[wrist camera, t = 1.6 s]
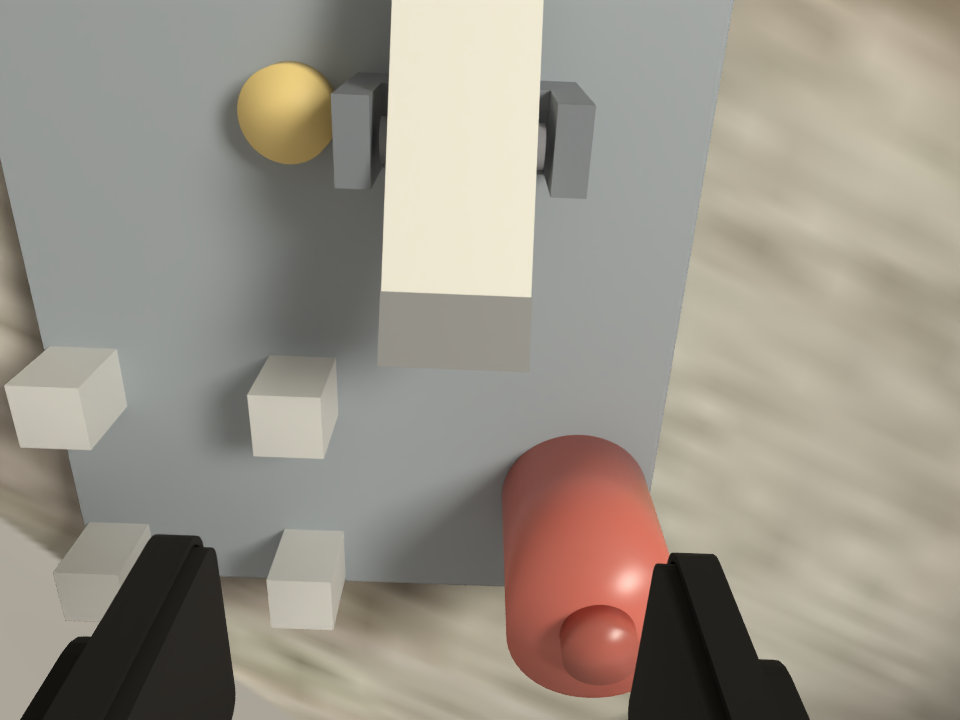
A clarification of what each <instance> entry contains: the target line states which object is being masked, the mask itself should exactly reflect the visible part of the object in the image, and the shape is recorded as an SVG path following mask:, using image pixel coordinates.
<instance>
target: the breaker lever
mask: <svg viewBox="0 0 960 720" xmlns="http://www.w3.org/2000/svg"><path fill="white" fill-rule="evenodd" d="M543 3H544V0H392V10H391V37H390V64H389V91H388V117H387V116H382V117H381V120H380V129H379V154H380V161H381V163H386V172H385V199H384V226H383V253H382V280H381V291H380V306H379V333H378V360H377V366H380V367H405V368H430V369H456V370H481V371H506V372H529V363H530V339H531V315H532V297H531V291H532V267H533V243H534V219H535V195H536V171H537V170H543V167H544V160H545V148H546V124H544V123H539V99H540V75H541V51H542V27H543Z"/></svg>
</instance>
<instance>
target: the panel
mask: <svg viewBox="0 0 960 720" xmlns="http://www.w3.org/2000/svg"><path fill="white" fill-rule="evenodd" d="M733 3H734V0H544V3H543V27H542V51H541V75H540V99H539V123H544V124H546V148H545V160H544V167H543V170H537V171H536V195H535V219H534V243H533V267H532V291H531V297H532V315H531V339H530V363H529V372H506V371H481V370H456V369H430V368H405V367H380V366H377V360H378V333H379V306H380V291H381V280H382V253H383V226H384V199H385V172H386V163H381V161H380V154H379V129H380V120H381V117H382V116H387V117H388V91H389V64H390V37H391V10H392V0H0V160H1V164H2V168H3V173H4V177H5V181H6V186H7V190H8V195H9V199H10V203H11V208H12V212H13V216H14V221H15V225H16V229H17V234H18V238H19V242H20V247H21V251H22V256H23V260H24V264H25V269H26V273H27V277H28V282H29V286H30V290H31V295H32V299H33V303H34V308H35V312H36V317H37V321H38V325H39V330H40V334H41V338H42V343H43V347H44V352H43V353H41V354H40V355H39V356H38V357H37V358H36V359H34V360H33V361H32V362H31V363H30V364H29V365H27V366H26V367H25V368H24V369H23V370H22V371H20V372H19V373H18V374H17V375H16V376H15V377H13V378H12V379H11V380H10V381H9V382H8V383H6V384H5V385H4V387H5V391H6V395H7V399H8V402H9V406H10V410H11V414H12V418H13V422H14V425H15V429H16V433H17V437H18V441H19V445H20V448H46V449H67V452H68V456H69V460H70V465H71V469H72V473H73V478H74V482H75V486H76V491H77V495H78V499H79V504H80V508H81V513H82V517H83V521H84V526H85V529H84V530H83V532H82V533H81V534H80V536H79V537H78V539H77V540H76V541H75V543H74V544H73V546H72V547H71V548H70V550H69V551H68V553H67V554H66V555H65V557H64V558H63V560H62V561H61V562H60V564H59V565H58V567H57V568H56V569H55V571H54V572H53V575H54V578H55V583H56V586H57V590H58V594H59V598H60V602H61V605H62V609H63V613H64V617H65V620H66V621H84V622H100V621H101V619H102V618H103V616H104V614H105V613H106V611H107V609H108V608H109V606H110V604H111V603H112V601H113V599H114V597H115V596H116V594H117V592H118V591H119V589H120V587H121V586H122V584H123V582H124V581H125V579H126V577H127V576H128V574H129V572H130V570H131V569H132V567H133V565H134V564H135V562H136V560H137V559H138V557H139V555H140V554H141V552H142V550H143V548H144V547H145V545H146V543H147V542H148V540H149V539H150V538H151V537H152V536H153V535H155V534H168V535H196V536H200V538H201V539H202V542H203V546H204V547H212V548H214V549H215V551H216V554H217V560H218V568H219V575H220V576H225V577H253V578H267V580H266V582H267V591H268V601H269V611H270V620H271V628H288V629H317V630H333V629H334V625H335V621H336V616H337V612H338V607H339V603H340V599H341V594H342V590H343V586H344V581H366V582H395V583H423V584H451V585H479V586H505V578H504V549H503V520H502V489H503V484H504V481H505V478H506V476H507V474H508V472H509V470H510V469H511V467H512V466H513V464H514V463H515V462H516V461H517V460H518V458H519V457H520V456H522V455H523V454H524V453H525V452H526V451H528V450H529V449H531V448H532V447H534V446H536V445H538V444H540V443H542V442H544V441H547V440H549V439H552V438H556V437H560V436H567V435H589V436H595V437H599V438H603V439H606V440H608V441H611V442H613V443H615V444H617V445H619V446H620V447H622V448H623V449H625V450H626V451H627V452H628V453H629V454H630V455H632V457H633V458H634V459H635V460H636V461H637V463H638V464H639V466H640V468H641V469H642V472H643V474H644V477H645V480H646V483H647V486H648V489H649V492H650V490H651V484H652V478H653V472H654V466H655V461H656V455H657V449H658V443H659V437H660V431H661V425H662V419H663V414H664V408H665V402H666V396H667V390H668V384H669V378H670V373H671V367H672V361H673V355H674V349H675V343H676V337H677V332H678V326H679V320H680V314H681V308H682V302H683V296H684V290H685V285H686V279H687V273H688V267H689V261H690V255H691V249H692V244H693V238H694V232H695V226H696V220H697V214H698V208H699V203H700V197H701V191H702V185H703V179H704V173H705V167H706V161H707V156H708V150H709V144H710V138H711V132H712V126H713V120H714V115H715V109H716V103H717V97H718V91H719V85H720V79H721V74H722V68H723V62H724V56H725V50H726V44H727V38H728V32H729V27H730V21H731V15H732V9H733Z"/></svg>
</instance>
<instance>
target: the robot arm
mask: <svg viewBox="0 0 960 720" xmlns="http://www.w3.org/2000/svg"><path fill="white" fill-rule="evenodd" d="M234 705H235V684H234V677H233V669H232V662H231V655H230V648H229V640H228V633H227V626H226V618H225V611H224V604H223V597H222V589H221V582H220V575H219V568H218V560H217V554H216V551H215V549H214V548H212V547H204V546H203V542H202V539H201V538H200V536H196V535H168V534H155V535H153V536H152V537H151V538H150V539H149V540H148V542H147V543H146V545H145V547H144V548H143V550H142V552H141V554H140V555H139V557H138V559H137V560H136V562H135V564H134V565H133V567H132V569H131V570H130V572H129V574H128V576H127V577H126V579H125V581H124V582H123V584H122V586H121V587H120V589H119V591H118V592H117V594H116V596H115V597H114V599H113V601H112V603H111V604H110V606H109V608H108V609H107V611H106V613H105V614H104V616H103V618H102V619H101V621H100V623H99V625H98V626H97V628H96V630H95V631H94V633H93V635H92V636H91V637H77V638H76V639H74V640H73V641H71V642H70V643H69V644H68V645H67V647H66V648H65V649H64V651H63V652H62V654H61V655H60V656H59V658H58V660H57V661H56V663H55V664H54V666H53V668H52V669H51V671H50V673H49V674H48V676H47V677H46V679H45V681H44V682H43V684H42V686H41V687H40V689H39V691H38V692H37V693H36V695H35V697H34V698H33V700H32V702H31V703H30V705H29V706H28V708H27V710H26V711H25V713H24V714H23V716H22V718H21V719H20V720H232V716H233V711H234ZM628 720H810V719H809V717H808V714H807V712H806V710H805V707H804V705H803V703H802V701H801V698H800V696H799V694H798V691H797V689H796V687H795V685H794V682H793V680H792V678H791V676H790V674H789V672H788V671H787V669H786V667H785V666H784V665H783V664H782V663H781V662H780V661H778V660H762V659H758V656H757V654H756V651H755V649H754V646H753V644H752V641H751V639H750V636H749V634H748V632H747V629H746V627H745V624H744V622H743V619H742V617H741V614H740V612H739V609H738V607H737V604H736V602H735V599H734V597H733V594H732V592H731V589H730V587H729V584H728V582H727V579H726V577H725V574H724V572H723V569H722V567H721V564H720V562H719V560H718V558H717V557H716V556H715V555H714V554H695V553H671V554H670V556H669V558H668V561H667V564H663V563H657V564H655V566H654V569H653V574H652V579H651V585H650V590H649V596H648V601H647V606H646V612H645V617H644V623H643V628H642V634H641V639H640V645H639V650H638V656H637V661H636V667H635V672H634V678H633V683H632V688H631V694H630V699H629V707H628Z"/></svg>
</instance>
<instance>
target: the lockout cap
mask: <svg viewBox="0 0 960 720" xmlns="http://www.w3.org/2000/svg"><path fill="white" fill-rule="evenodd" d="M502 520H503V549H504V578H505V607H506V636H507V644H508V649H509V651H510V654H511V656H512V658H513V660H514V661H515V663H516V665H517V666H518V667H519V668H520V670H521V671H522V672H523V673H524V674H525V675H527V676H528V677H529V678H530V679H532V680H533V681H534V682H536V683H537V684H539V685H541V686H543V687H545V688H547V689H550V690H552V691H555V692H558V693H561V694H565V695H570V696H575V697H586V698H600V697H610V696H615V695H620V694H624V693H628V692H631V688H632V683H633V678H634V672H635V667H636V661H637V656H638V650H639V645H640V639H641V634H642V628H643V623H644V617H645V612H646V606H647V601H648V596H649V590H650V585H651V579H652V574H653V569H654V566H655V564H657V563H663V564H667V561H668V558H669V556H670V555H669V552H668V549H667V546H666V542H665V539H664V536H663V533H662V530H661V527H660V524H659V521H658V517H657V514H656V511H655V508H654V505H653V502H652V499H651V496H650V492H649V489H648V486H647V483H646V480H645V477H644V474H643V472H642V469H641V468H640V466H639V464H638V463H637V461H636V460H635V459H634V458H633V457H632V455H630V454H629V453H628V452H627V451H626V450H625V449H623V448H622V447H620V446H619V445H617V444H615V443H613V442H611V441H608V440H606V439H603V438H599V437H595V436H589V435H567V436H560V437H556V438H552V439H549V440H547V441H544V442H542V443H540V444H538V445H536V446H534V447H532V448H531V449H529V450H528V451H526V452H525V453H524V454H523V455H522V456H520V457H519V458H518V460H517V461H516V462H515V463H514V464H513V466H512V467H511V469H510V470H509V472H508V474H507V476H506V478H505V481H504V484H503V489H502Z"/></svg>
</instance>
